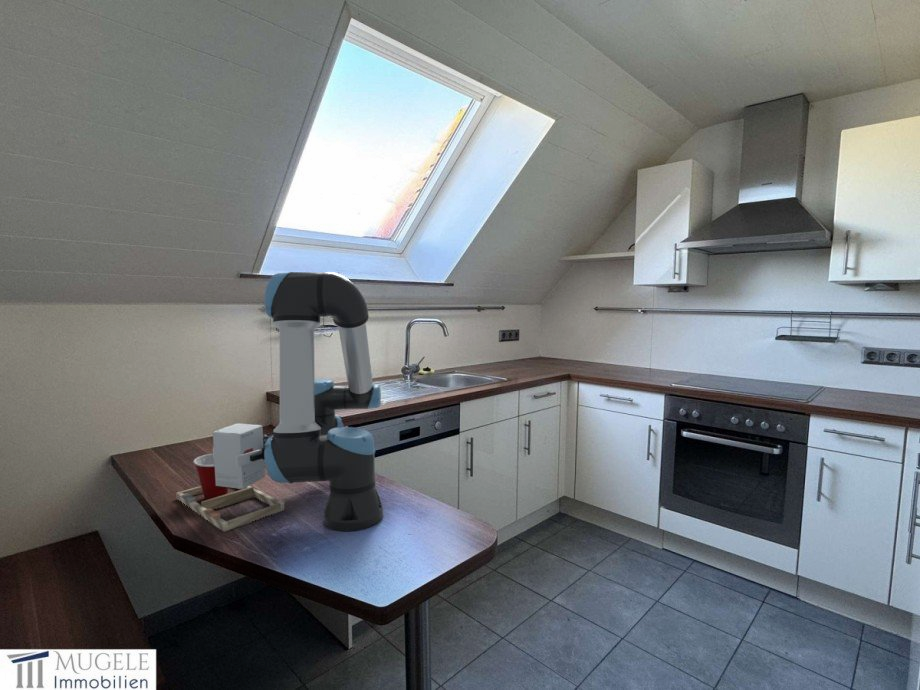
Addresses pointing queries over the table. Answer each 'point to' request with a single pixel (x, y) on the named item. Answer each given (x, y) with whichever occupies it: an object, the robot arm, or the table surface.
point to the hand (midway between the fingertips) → (224, 457)
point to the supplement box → (231, 445)
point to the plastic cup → (208, 477)
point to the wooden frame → (243, 494)
